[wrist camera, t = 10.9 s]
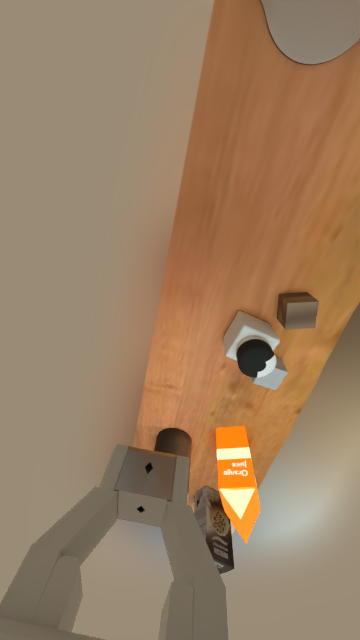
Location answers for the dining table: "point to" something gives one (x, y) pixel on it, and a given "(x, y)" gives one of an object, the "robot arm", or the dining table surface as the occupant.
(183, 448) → the pillar candle
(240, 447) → the orange juice
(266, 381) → the grey painted block
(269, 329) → the medicine bottle
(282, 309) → the walnut block
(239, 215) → the dining table surface
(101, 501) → the robot arm
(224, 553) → the coffee box
